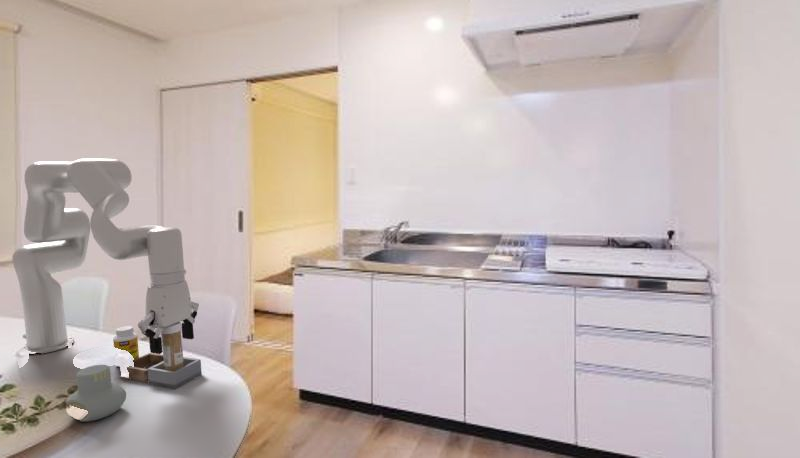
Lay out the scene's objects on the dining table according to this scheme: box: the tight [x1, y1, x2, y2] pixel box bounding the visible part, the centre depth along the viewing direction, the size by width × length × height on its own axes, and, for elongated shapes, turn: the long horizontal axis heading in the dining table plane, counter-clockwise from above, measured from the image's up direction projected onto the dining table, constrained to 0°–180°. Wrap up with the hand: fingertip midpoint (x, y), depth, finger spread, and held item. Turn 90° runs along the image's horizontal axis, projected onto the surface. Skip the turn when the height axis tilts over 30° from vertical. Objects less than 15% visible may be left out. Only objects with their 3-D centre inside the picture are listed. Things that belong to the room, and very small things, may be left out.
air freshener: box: [65, 364, 127, 423], centre depth 95 cm, size 11×8×10 cm
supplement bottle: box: [113, 325, 140, 360], centre depth 120 cm, size 6×6×10 cm
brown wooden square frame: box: [127, 352, 164, 383], centre depth 116 cm, size 9×9×3 cm
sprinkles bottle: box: [160, 321, 184, 371], centre depth 111 cm, size 5×5×14 cm
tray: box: [147, 356, 203, 390], centre depth 111 cm, size 8×8×4 cm
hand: (173, 345), depth 110 cm, fingers open, 9 cm apart
